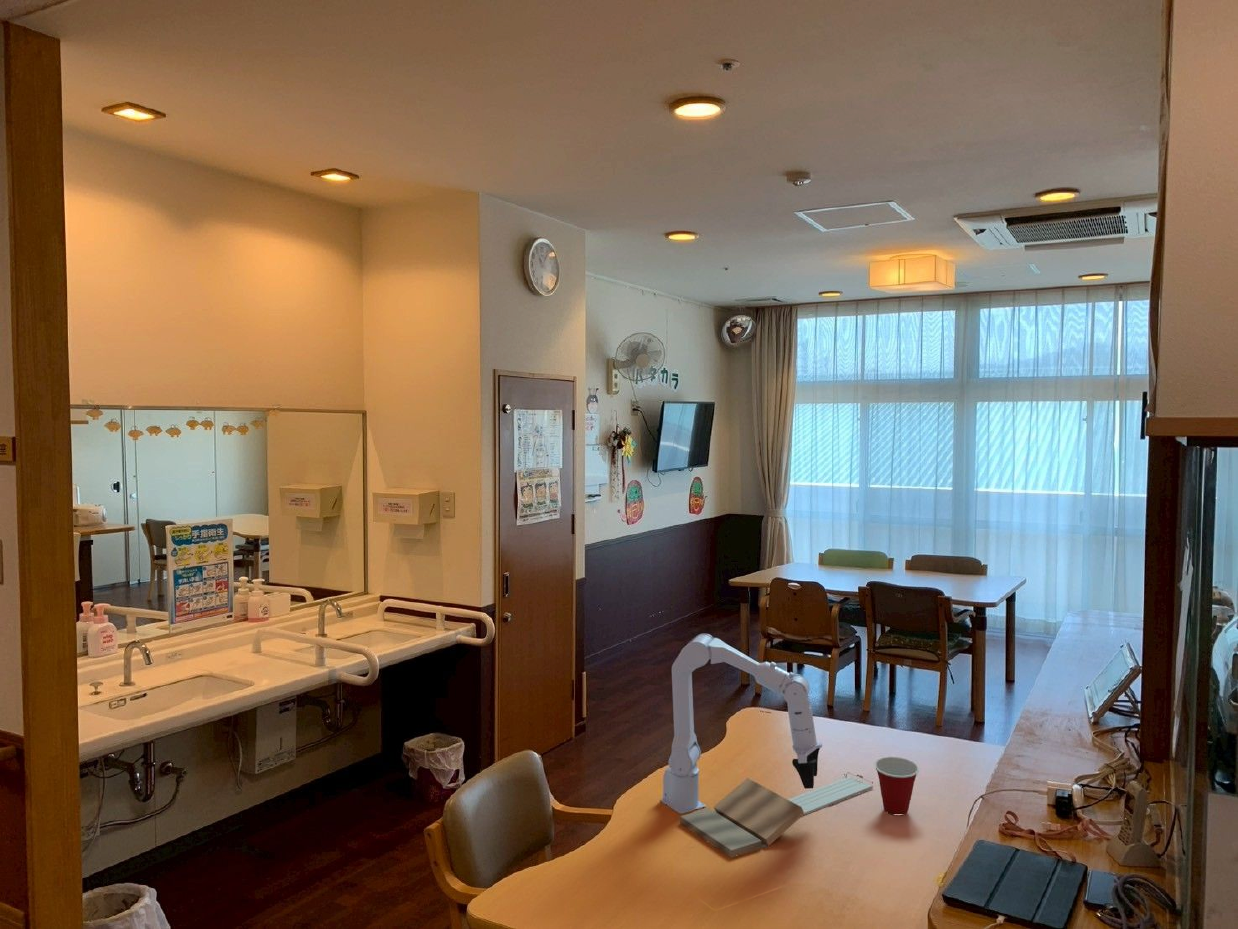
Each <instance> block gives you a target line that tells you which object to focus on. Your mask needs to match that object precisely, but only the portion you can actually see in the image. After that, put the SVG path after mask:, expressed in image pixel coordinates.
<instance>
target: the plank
mask: <svg viewBox="0 0 1238 929" xmlns="http://www.w3.org/2000/svg"><path fill="white" fill-rule="evenodd" d="M713 808H714V811H715V812H716V813H718V814H719V815H721V816H723V817H724V818H726V819H727V820H729V821H731V822H732V823H734V824H735V825H737V826H739V827H740V828H742V829H744V830H745V831H747V832H748V833H750V834H752V835H753V836H755V837H756V838H758V839H760V840H761V841H762V843H764V844H765V845H767V847H770V845H772V844H773V843H774V842H775V841H776V840H777V839H779V837H781V836H782V835H783V834H784V833H785V832H786V831H787V830H788V829H789V828H791V827H792V826H793V825H794V824H795V823H796V822H797V821H798V820H799V819H800V818H801V817H804V816H805V815H804V812H803V809H802V807H800V806H798V805H797V804H795V803H793V802H791V801H789V799H788V798H786V797H784V796H782V795H780V794H778V793H776V792H774V791H772V790H771V789H769V788H767V787H765V786H763V785H761V784H760V783H758V782H755V781H754V780H752V779H750V778H748V777H747V778H745V780H743V781H742V782H741V783H740V784H739V785H737V786H736V787H735V788H734V789H733V790H732V791H731V792H728V794H726V795H725V797H723V798H722V799H721V800H720V801H719V802H717V803H716V804H715V805H714V806H713ZM803 815H804V816H803Z"/></svg>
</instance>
